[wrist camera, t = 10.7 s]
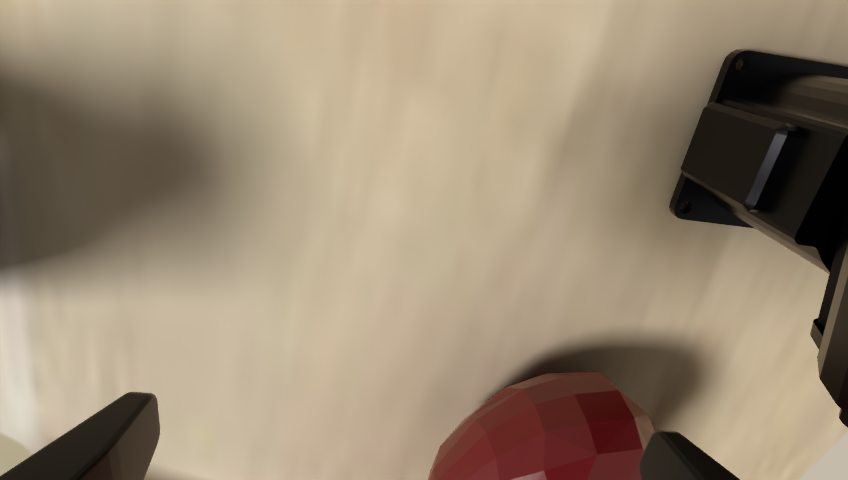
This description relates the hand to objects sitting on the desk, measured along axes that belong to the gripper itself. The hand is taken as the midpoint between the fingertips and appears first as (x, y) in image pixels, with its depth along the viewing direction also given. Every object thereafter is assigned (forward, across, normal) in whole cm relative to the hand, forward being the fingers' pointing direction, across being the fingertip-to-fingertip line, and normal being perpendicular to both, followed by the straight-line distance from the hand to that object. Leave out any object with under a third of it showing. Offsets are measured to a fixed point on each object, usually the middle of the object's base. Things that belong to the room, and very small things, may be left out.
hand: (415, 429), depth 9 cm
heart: (+12, -7, +12) cm, 19 cm away
